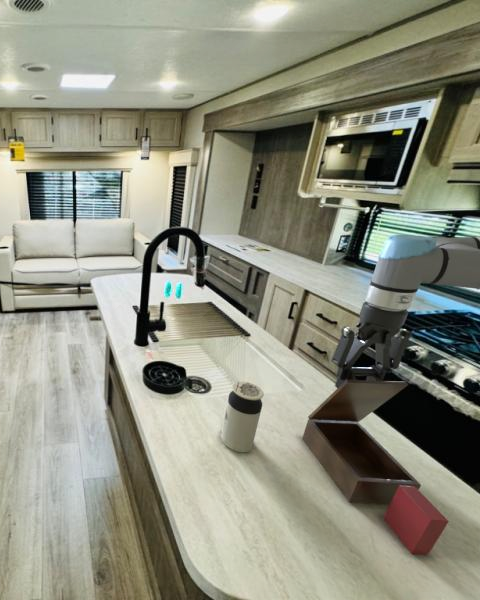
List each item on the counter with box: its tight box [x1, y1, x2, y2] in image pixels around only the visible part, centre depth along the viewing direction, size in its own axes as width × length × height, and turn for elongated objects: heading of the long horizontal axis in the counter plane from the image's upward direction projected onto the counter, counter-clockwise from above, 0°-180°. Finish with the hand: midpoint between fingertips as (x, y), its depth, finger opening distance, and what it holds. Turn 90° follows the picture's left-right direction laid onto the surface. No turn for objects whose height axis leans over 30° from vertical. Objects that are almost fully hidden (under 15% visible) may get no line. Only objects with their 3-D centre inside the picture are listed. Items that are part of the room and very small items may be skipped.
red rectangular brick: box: [382, 486, 450, 556], centre depth 63 cm, size 3×7×10 cm, turn 175°
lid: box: [307, 366, 409, 423], centre depth 80 cm, size 20×13×6 cm
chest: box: [302, 419, 422, 506], centre depth 78 cm, size 19×13×7 cm
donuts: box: [163, 280, 184, 299], centre depth 192 cm, size 10×10×10 cm
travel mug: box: [220, 380, 265, 453], centre depth 85 cm, size 8×8×18 cm
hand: (354, 389), depth 78 cm, fingers closed on lid, 6 cm apart
